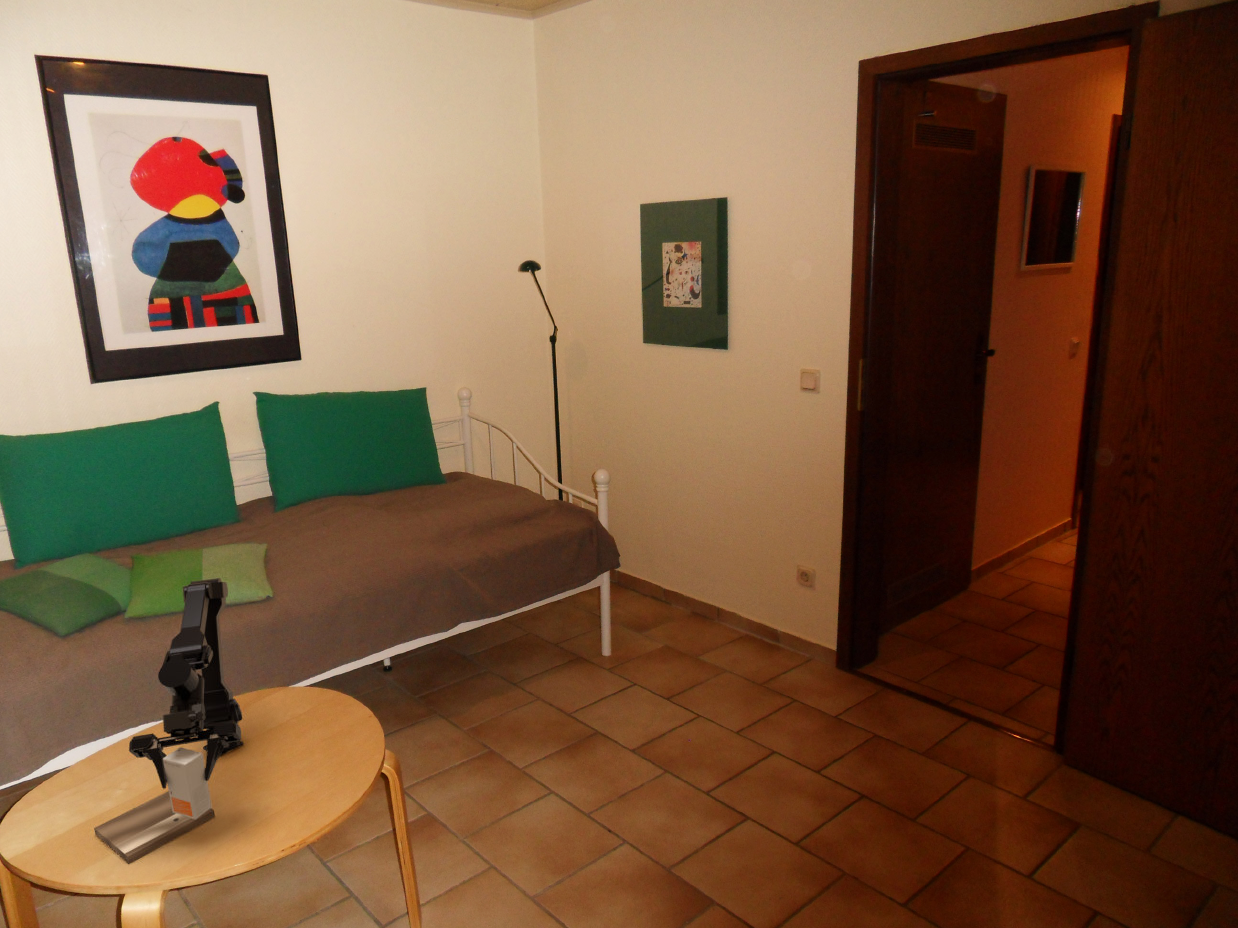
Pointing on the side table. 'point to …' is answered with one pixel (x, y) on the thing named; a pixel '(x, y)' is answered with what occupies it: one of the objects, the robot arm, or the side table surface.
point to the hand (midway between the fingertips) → (185, 784)
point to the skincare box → (187, 783)
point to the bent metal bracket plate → (147, 828)
